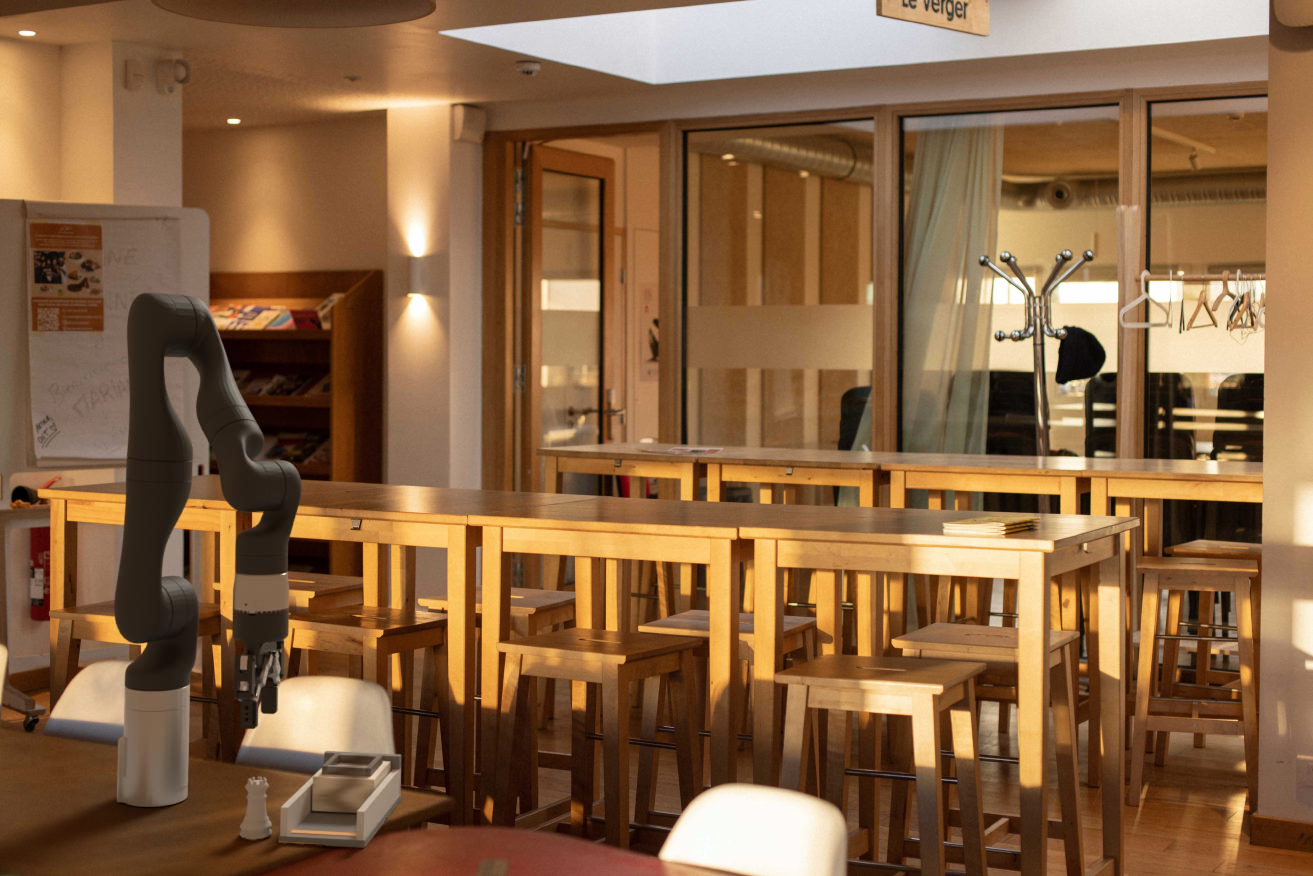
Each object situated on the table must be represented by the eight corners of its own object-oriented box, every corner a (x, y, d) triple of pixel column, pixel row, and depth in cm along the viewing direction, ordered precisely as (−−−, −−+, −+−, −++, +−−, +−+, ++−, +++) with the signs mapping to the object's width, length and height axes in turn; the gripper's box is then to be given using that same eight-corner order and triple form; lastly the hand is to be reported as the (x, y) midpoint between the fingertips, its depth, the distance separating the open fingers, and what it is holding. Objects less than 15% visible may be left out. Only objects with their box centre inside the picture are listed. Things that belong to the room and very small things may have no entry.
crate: (312, 810, 207) (313, 768, 207) (331, 790, 217) (332, 750, 217) (373, 813, 207) (374, 771, 207) (389, 793, 217) (390, 753, 217)
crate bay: (278, 843, 197) (279, 792, 197) (323, 796, 219) (324, 750, 219) (364, 847, 196) (366, 797, 196) (401, 800, 218) (402, 754, 218)
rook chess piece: (263, 842, 197) (264, 785, 197) (233, 839, 198) (234, 782, 197) (278, 832, 201) (279, 776, 201) (248, 829, 202) (250, 773, 202)
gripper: (251, 596, 205) (249, 708, 206) (216, 612, 191) (214, 732, 192) (302, 597, 205) (301, 710, 206) (271, 614, 191) (269, 734, 192)
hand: (259, 720), depth 199 cm, fingers open, 8 cm apart
